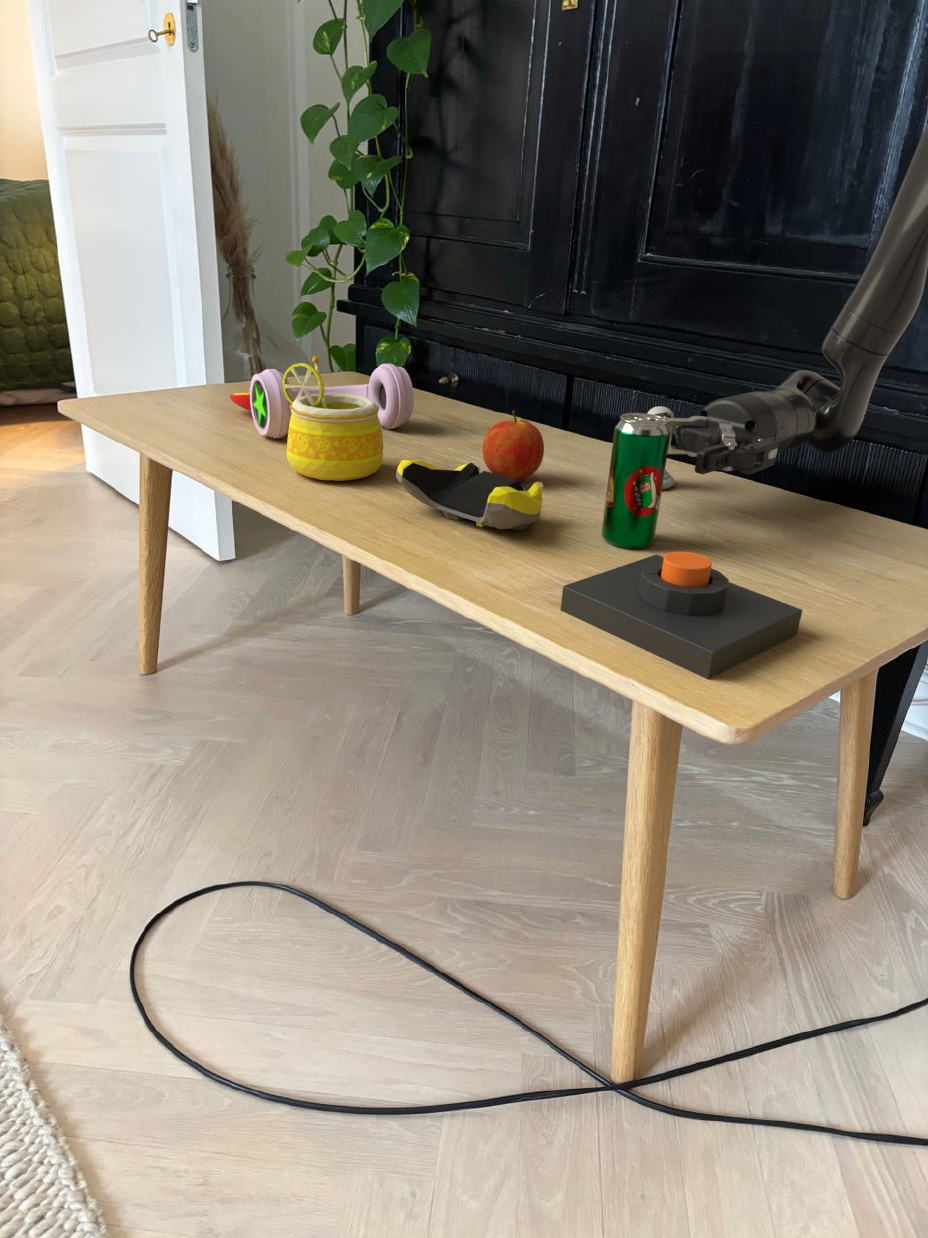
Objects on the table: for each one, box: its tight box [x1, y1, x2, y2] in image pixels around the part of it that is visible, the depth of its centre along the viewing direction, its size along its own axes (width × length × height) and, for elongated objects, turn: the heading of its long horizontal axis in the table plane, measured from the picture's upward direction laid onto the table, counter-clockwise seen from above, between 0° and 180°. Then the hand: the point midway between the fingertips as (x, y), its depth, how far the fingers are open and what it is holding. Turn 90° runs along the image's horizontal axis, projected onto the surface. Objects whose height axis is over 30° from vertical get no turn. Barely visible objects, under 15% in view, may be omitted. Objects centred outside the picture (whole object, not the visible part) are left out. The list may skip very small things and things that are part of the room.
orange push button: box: [661, 550, 713, 587], centre depth 70 cm, size 4×4×2 cm
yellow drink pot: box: [282, 355, 384, 482], centre depth 102 cm, size 13×11×12 cm
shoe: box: [395, 459, 544, 531], centre depth 90 cm, size 15×6×10 cm
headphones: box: [229, 363, 415, 439], centre depth 122 cm, size 20×10×20 cm
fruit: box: [482, 409, 545, 482], centre depth 103 cm, size 7×7×8 cm
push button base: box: [560, 554, 803, 680], centre depth 71 cm, size 14×12×4 cm
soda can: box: [601, 412, 671, 550], centre depth 85 cm, size 5×5×12 cm
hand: (660, 452), depth 86 cm, fingers open, 8 cm apart
